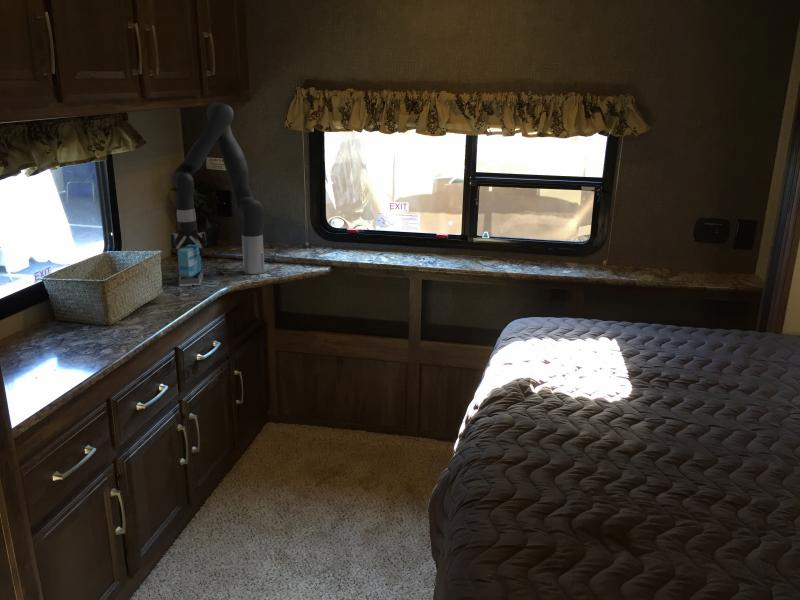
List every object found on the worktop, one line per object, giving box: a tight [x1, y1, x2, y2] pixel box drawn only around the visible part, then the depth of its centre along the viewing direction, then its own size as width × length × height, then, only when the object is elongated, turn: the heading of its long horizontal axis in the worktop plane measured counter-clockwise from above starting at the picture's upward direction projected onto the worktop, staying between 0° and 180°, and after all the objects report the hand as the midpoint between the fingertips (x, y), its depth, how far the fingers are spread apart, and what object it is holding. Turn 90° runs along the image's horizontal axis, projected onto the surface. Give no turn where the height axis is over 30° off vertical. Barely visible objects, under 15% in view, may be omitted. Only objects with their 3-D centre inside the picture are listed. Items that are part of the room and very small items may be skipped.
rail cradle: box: [178, 264, 204, 287], centre depth 293 cm, size 8×16×5 cm, turn 10°
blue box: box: [177, 243, 203, 277], centre depth 291 cm, size 12×4×12 cm, turn 170°
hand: (190, 256), depth 291 cm, fingers open, 8 cm apart
